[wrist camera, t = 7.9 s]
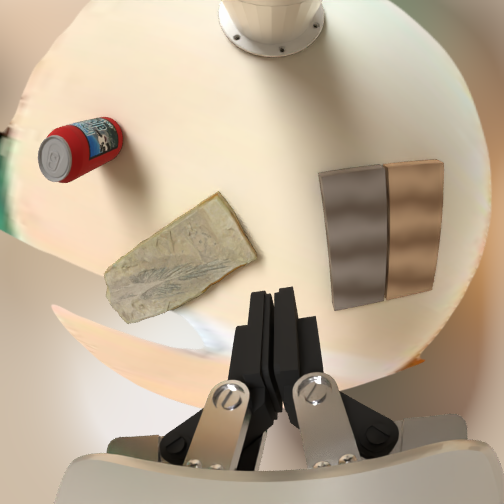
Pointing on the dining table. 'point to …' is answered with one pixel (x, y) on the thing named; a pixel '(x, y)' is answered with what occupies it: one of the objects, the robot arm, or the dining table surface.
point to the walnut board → (412, 225)
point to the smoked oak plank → (356, 234)
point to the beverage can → (79, 148)
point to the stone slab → (178, 261)
